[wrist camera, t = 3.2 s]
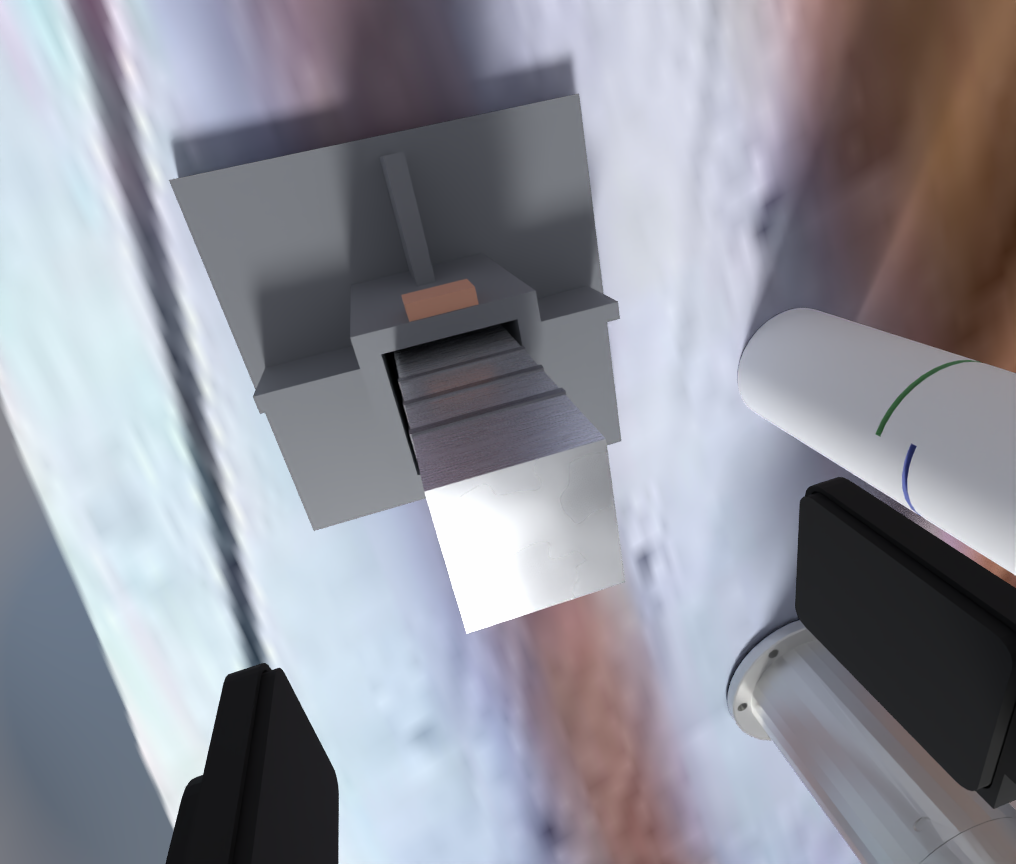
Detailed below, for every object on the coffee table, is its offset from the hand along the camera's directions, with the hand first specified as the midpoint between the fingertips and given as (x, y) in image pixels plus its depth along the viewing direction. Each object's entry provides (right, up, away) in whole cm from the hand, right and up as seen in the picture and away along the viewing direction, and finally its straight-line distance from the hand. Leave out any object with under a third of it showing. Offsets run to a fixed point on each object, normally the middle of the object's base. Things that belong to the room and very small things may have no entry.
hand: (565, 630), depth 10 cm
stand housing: (-5, +9, +21) cm, 23 cm away
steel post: (-5, +8, +19) cm, 21 cm away
